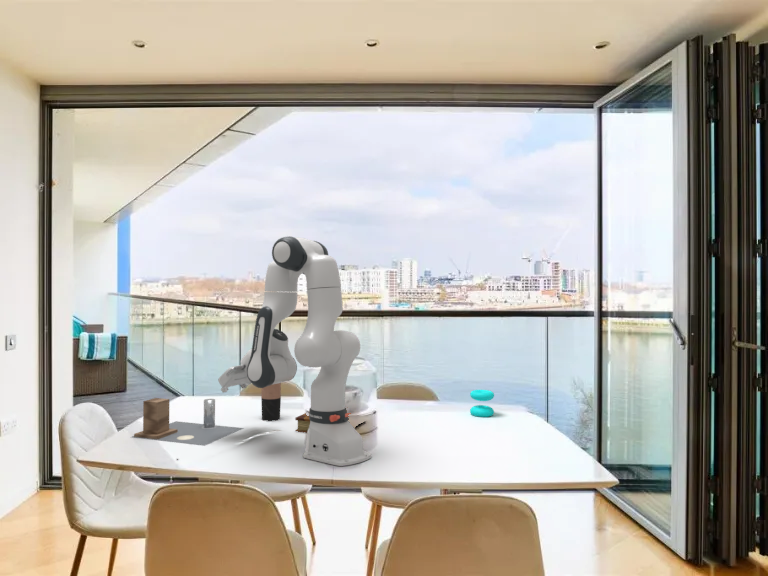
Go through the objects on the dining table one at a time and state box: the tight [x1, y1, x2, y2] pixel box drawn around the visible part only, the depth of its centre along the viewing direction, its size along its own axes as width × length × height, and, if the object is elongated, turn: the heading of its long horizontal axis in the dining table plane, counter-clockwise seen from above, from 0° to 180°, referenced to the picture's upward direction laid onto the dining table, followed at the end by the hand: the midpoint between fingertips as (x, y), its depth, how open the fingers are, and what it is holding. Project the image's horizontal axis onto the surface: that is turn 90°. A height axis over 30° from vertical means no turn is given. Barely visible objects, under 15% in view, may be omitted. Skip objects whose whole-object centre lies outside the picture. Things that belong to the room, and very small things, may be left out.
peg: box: [203, 398, 216, 428], centre depth 204 cm, size 4×4×10 cm
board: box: [131, 420, 245, 447], centre depth 196 cm, size 30×24×1 cm
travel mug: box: [260, 382, 282, 422], centre depth 222 cm, size 8×8×20 cm
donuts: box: [469, 389, 495, 418], centre depth 233 cm, size 10×10×10 cm
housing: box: [133, 397, 178, 439], centre depth 194 cm, size 10×10×12 cm
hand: (233, 388), depth 199 cm, fingers open, 8 cm apart
